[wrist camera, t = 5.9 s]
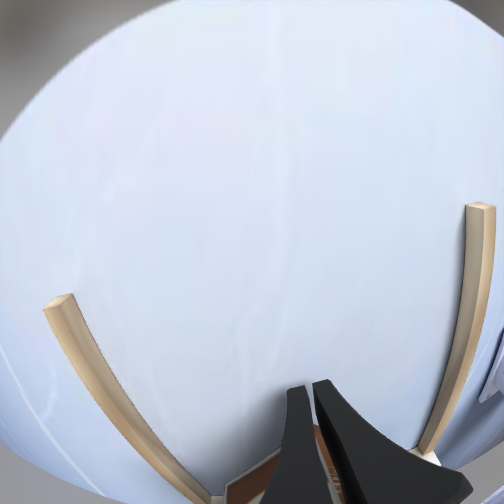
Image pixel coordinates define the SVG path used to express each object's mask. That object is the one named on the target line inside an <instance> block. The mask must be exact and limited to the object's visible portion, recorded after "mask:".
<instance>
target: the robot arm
mask: <svg viewBox="0 0 504 504" xmlns="http://www.w3.org/2000/svg"><path fill="white" fill-rule="evenodd" d="M312 386H313V394H314V403H315V412H316V416H317V420H318V424H319V428H320V432H321V435H322V438H323V440H324V443H325V445H326V448H327V450H328V453H329V455H330V458H331V460H332V463H333V465H334V468H335V470H336V473H337V476H338V479H339V482H340V485H341V489H342V493H343V496H344V500H345V504H460V502H462V501H463V500H464V499H465V498H467V497H468V496H469V495H470V494H471V493H472V491H473V488H472V486H471V484H470V482H469V481H468V480H467V479H466V478H465V476H464V475H463V474H462V473H461V472H457V471H454V470H450V469H447V468H444V467H442V466H439V465H436V464H434V463H431V462H429V461H427V460H424V459H422V458H420V457H419V456H417V455H415V454H413V453H411V452H409V451H407V450H405V449H403V448H402V447H400V446H399V445H397V444H396V443H394V442H392V441H391V440H390V439H388V438H387V437H385V436H384V435H383V434H381V433H380V432H379V431H378V430H376V429H375V428H374V427H373V426H371V425H370V424H369V423H368V422H367V421H366V420H365V419H364V418H362V417H361V416H360V415H359V414H358V413H357V412H356V411H355V410H354V409H353V408H352V407H351V406H350V404H349V403H348V402H347V401H346V400H345V399H344V398H343V397H342V395H341V394H340V393H339V392H338V391H337V389H336V388H335V387H334V385H333V384H332V382H331V381H330V380H328V379H326V380H323V381H319V382H315V383H312ZM499 390H500V391H501V393H502V394H503V395H504V334H503V338H502V341H501V344H500V347H499V350H498V353H497V356H496V359H495V361H494V364H493V367H492V369H491V372H490V374H489V377H488V379H487V381H486V384H485V386H484V388H483V391H482V393H481V395H480V397H479V400H478V401H479V402H480V403H482V402H484V401H485V400H487V399H488V398H489V397H491V396H492V395H493V394H495V393H496V392H497V391H499ZM286 392H287V418H286V425H285V431H284V437H283V441H282V445H281V449H280V453H279V456H278V460H277V463H276V466H275V469H274V471H273V474H272V477H271V479H270V481H269V484H268V486H267V488H266V491H265V493H264V495H263V497H262V499H261V501H260V502H259V504H333V501H332V497H331V494H330V491H329V487H328V484H327V481H326V477H325V474H324V470H323V467H322V463H321V460H320V457H319V453H318V449H317V444H316V439H315V432H314V426H313V419H312V413H311V407H310V401H309V397H308V394H307V391H306V388H305V385H303V386H299V387H295V388H290V389H288V390H287V391H286ZM480 504H504V485H503V486H502V487H501V488H499V489H498V490H497V491H496V492H494V493H493V494H492V495H491V496H489V497H488V498H487V499H486V500H484V501H483V502H482V503H480Z"/></svg>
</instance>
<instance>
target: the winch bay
mask: <svg viewBox="0 0 504 504" xmlns="http://www.w3.org/2000/svg"><path fill="white" fill-rule="evenodd" d="M495 235H496V206H493V205H489V204H485V203H481V202H475V203H471V204H467V205H466V250H465V266H464V278H463V287H462V295H461V302H460V309H459V315H458V321H457V326H456V331H455V336H454V341H453V345H452V349H451V353H450V357H449V361H448V365H447V368H446V372H445V375H444V379H443V382H442V385H441V388H440V391H439V394H438V397H437V400H436V403H435V406H434V408H433V411H432V414H431V416H430V419H429V421H428V424H427V426H426V429H425V431H424V433H423V436H422V438H421V440H420V442H419V444H418V446H417V447H415V448H413V449H411V450H409V452H411V453H413V454H415V455H417V456H419V457H420V458H422V459H424V460H427V461H429V462H431V463H434V464H436V465H439V466H441V464H440V462H439V460H438V458H437V457H436V455H435V453H434V451H433V450H434V448H435V447H436V445H437V443H438V441H439V439H440V437H441V435H442V434H443V432H444V430H445V428H446V426H447V424H448V422H449V419H450V417H451V415H452V413H453V411H454V409H455V406H456V404H457V402H458V399H459V397H460V394H461V392H462V389H463V387H464V384H465V382H466V379H467V376H468V373H469V371H470V368H471V365H472V362H473V358H474V355H475V352H476V349H477V345H478V341H479V338H480V334H481V330H482V326H483V322H484V317H485V313H486V308H487V303H488V297H489V292H490V285H491V278H492V271H493V262H494V251H495ZM42 310H43V312H44V314H45V316H46V319H47V321H48V323H49V325H50V327H51V329H52V331H53V333H54V335H55V336H56V338H57V340H58V342H59V344H60V346H61V348H62V349H63V351H64V353H65V355H66V356H67V358H68V360H69V361H70V363H71V365H72V366H73V368H74V370H75V371H76V373H77V374H78V376H79V377H80V379H81V381H82V382H83V384H84V385H85V387H86V388H87V390H88V391H89V392H90V394H91V395H92V397H93V398H94V399H95V401H96V402H97V404H98V405H99V406H100V408H101V409H102V410H103V412H104V413H105V414H106V416H107V417H108V418H109V419H110V421H111V422H112V423H113V424H114V426H115V427H116V428H117V429H118V430H119V432H120V433H121V434H122V435H123V436H124V437H125V439H126V440H127V441H128V442H129V443H130V444H131V445H132V446H133V448H134V449H135V450H136V451H137V452H138V453H139V454H140V455H141V456H142V457H143V458H144V459H145V460H146V461H147V462H148V463H149V464H150V465H151V466H152V467H153V468H154V469H155V470H156V471H157V472H158V473H159V474H160V475H161V476H162V477H163V478H164V479H166V480H167V481H168V482H169V483H170V484H171V485H172V486H173V487H175V488H176V489H177V490H178V491H179V492H180V493H182V494H183V495H184V496H185V497H186V498H188V499H189V500H190V501H191V502H193V503H194V504H223V503H224V496H211V495H210V494H209V493H208V492H207V491H206V490H205V489H204V488H202V487H201V486H200V485H199V484H198V483H197V482H196V481H195V480H194V479H193V477H192V476H191V475H190V474H189V473H188V472H187V471H186V470H185V469H184V468H183V467H182V466H181V465H180V464H179V463H178V461H177V460H176V459H175V458H174V457H173V456H172V455H171V453H170V452H169V451H168V450H167V449H166V448H165V446H164V445H163V444H162V443H161V441H160V440H159V439H158V438H157V437H156V435H155V434H154V433H153V431H152V430H151V429H150V428H149V426H148V425H147V424H146V422H145V421H144V420H143V418H142V417H141V415H140V414H139V413H138V411H137V410H136V408H135V407H134V406H133V404H132V403H131V401H130V400H129V398H128V397H127V395H126V394H125V392H124V391H123V389H122V388H121V386H120V384H119V383H118V381H117V380H116V378H115V376H114V375H113V373H112V371H111V370H110V368H109V366H108V365H107V363H106V361H105V359H104V358H103V356H102V354H101V352H100V350H99V348H98V347H97V345H96V343H95V341H94V339H93V337H92V335H91V333H90V331H89V329H88V327H87V325H86V323H85V321H84V319H83V317H82V314H81V312H80V310H79V308H78V306H77V303H76V301H75V299H74V296H73V294H67V295H63V296H58V297H56V298H55V299H54V300H52V301H51V302H50V303H49V304H48V305H47V306H45V307H44V308H43V309H42Z"/></svg>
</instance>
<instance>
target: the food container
mask: <svg viewBox="0 0 504 504" xmlns="http://www.w3.org/2000/svg"><path fill="white" fill-rule="evenodd" d="M313 426H314V432H315V439H316V444H317V449H318V453H319V457H320V460H321V463H322V467H323V470H324V474H325V477H326V481H327V484H328V487H329V491H330V494H331V497H332V501H333V504H345V500H344V496H343V493H342V489H341V485H340V482H339V479H338V476H337V473H336V470H335V468H334V465H333V463H332V460H331V458H330V455H329V453H328V450H327V448H326V445H325V443H324V440H323V438H322V435H321V432H320V428H319V426H318V425H315V424H313ZM280 449H281V447H280V448H278V449H277V450H275V451H274V452H273V453H271V454H270V455H269V456H267V457H266V458H264V459H263V460H262V461H260V462H259V463H257V464H256V465H254V466H253V467H251V468H250V469H248V470H247V471H245V472H244V473H242V474H240V475H239V476H237V477H236V478H234V479H232V480H231V481H229V482H227V483H226V484H225V488H224V503H223V504H259V502H260V501H261V499H262V497H263V495H264V493H265V491H266V488H267V486H268V484H269V481H270V479H271V477H272V474H273V471H274V469H275V466H276V463H277V460H278V456H279V453H280Z"/></svg>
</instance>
